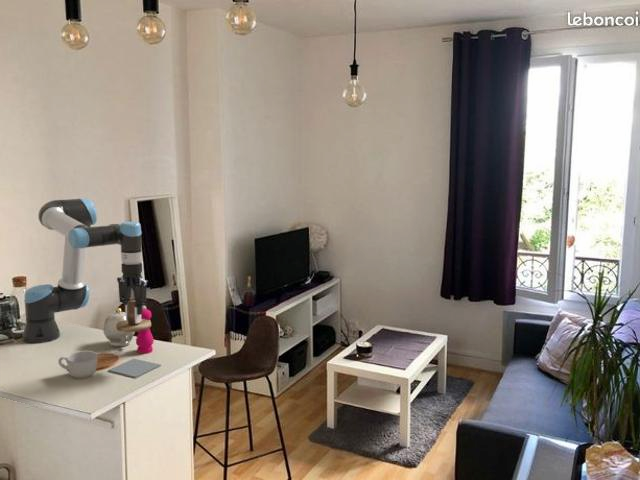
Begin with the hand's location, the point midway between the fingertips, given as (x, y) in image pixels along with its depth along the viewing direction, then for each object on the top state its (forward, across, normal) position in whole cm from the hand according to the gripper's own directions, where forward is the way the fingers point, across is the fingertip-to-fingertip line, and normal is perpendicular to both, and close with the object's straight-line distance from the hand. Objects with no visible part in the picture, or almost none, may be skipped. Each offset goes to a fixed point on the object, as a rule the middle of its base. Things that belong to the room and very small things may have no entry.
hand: (133, 321), depth 228 cm
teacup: (+20, -14, -15) cm, 28 cm away
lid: (+2, 0, 0) cm, 2 cm away
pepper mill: (+20, -10, +17) cm, 28 cm away
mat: (+19, 0, 0) cm, 19 cm away
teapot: (+20, -24, +18) cm, 36 cm away
